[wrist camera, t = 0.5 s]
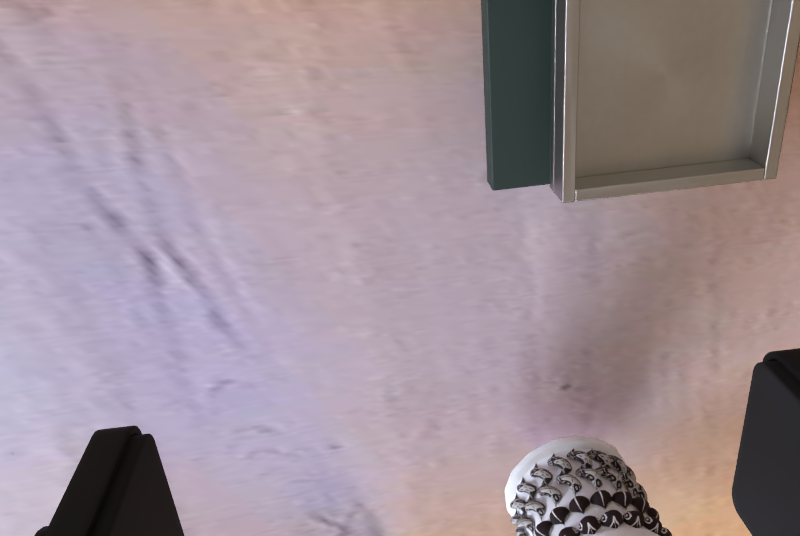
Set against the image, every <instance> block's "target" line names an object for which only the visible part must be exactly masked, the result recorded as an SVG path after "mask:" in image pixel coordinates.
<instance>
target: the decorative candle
mask: <svg viewBox="0 0 800 536" xmlns="http://www.w3.org/2000/svg"><path fill="white" fill-rule="evenodd" d="M504 491H505V498H506V505H507V510H508V512H509V513H510V515H511V516H512V517H511V523H512V524H514V525H516V524H517V526H518V528H517V529H516V530H515V532H516V534H517V535H518V536H672V534H671V532H670V531H669V530H668V529H666V528H664V527H662V524H661V522H660V521H659V514H658V512H657V511H656V510H655V509H654V508H650V506H649V503H648V501H647V494H646V491H645V490H644V488H643V487H642V486H641V485H640V484H638V483H637V482H636V477H635V474H634V472H633V471H632V470H631V469H630V468H629V467H628V466H627V465H626V463H625V462H624V460H623V459H622V457H621V455H620V454H619V452H618V451H617V449H616V448H615V447H614V446H612V445H610V444H608V443H606V442H605V441H603V440H601V439H599V438H595V437H585V436H575V435H574V436H570V437H566V438H561V439H557V440H552V441H549V442H547V443H545V444H544V445H542V446H540V447H538V448H537V449H535V450H533V451H531V452H530V453H528V454H527V455H526V456H525V457H524V458H523V459H522V460H521V461H520V463H519V464H518V465H517V466H516V467H515V468H514V469H513V470H512V471H511V474H510V477H509V480H508V482H507V485H506V488H505V490H504Z"/></svg>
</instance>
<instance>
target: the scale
mask: <svg viewBox="0 0 800 536" xmlns="http://www.w3.org/2000/svg"><path fill="white" fill-rule="evenodd" d="M481 8H482V37H483V66H484V95H485V124H486V153H487V181H488V183H489V184H490V186H491V188H492V190H501V189H510V188H519V187H528V186H536V185H545V184H550V166H551V62H552V0H481Z"/></svg>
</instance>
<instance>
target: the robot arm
mask: <svg viewBox="0 0 800 536" xmlns="http://www.w3.org/2000/svg"><path fill="white" fill-rule="evenodd" d="M732 498H733V503H734V506H735V509H736V511H737V513H738V515H739V516H740V518H741V519H742V521H743V522H744V524H745V525H746V527H747V528H748V530H749V531H750V533H751V534H752V536H800V348H799V349H791V350H782V351H773V352H769V353H767V354H766V355H765V357H764V359H763V362H760V363H757V364H756V366H755V367H754V370H753V375H752V381H751V386H750V392H749V397H748V403H747V409H746V414H745V420H744V426H743V431H742V437H741V442H740V448H739V454H738V459H737V465H736V471H735V476H734V482H733V488H732ZM35 536H184V533H183V530H182V527H181V524H180V520H179V517H178V514H177V511H176V507H175V504H174V501H173V498H172V495H171V491H170V488H169V485H168V482H167V479H166V475H165V472H164V469H163V466H162V463H161V459H160V456H159V453H158V450H157V447H156V443H155V440H154V438H153V436H152V435H151V434H142V433H141V431H140V429H139V428H138V427H137V426H127V427H119V428H110V429H102V430H98V431H96V432H95V433H94V434H93V436H92V437H91V439H90V442H89V444H88V446H87V448H86V450H85V452H84V454H83V456H82V458H81V460H80V462H79V464H78V466H77V469H76V471H75V473H74V475H73V477H72V479H71V481H70V483H69V485H68V487H67V489H66V491H65V493H64V495H63V498H62V500H61V502H60V504H59V506H58V508H57V510H56V512H55V514H54V516H53V518H52V520H51V522H50V525H49V526H45V527H43V528H41V529H40V530H39V531H37V533H36V534H35Z"/></svg>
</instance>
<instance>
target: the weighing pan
mask: <svg viewBox="0 0 800 536" xmlns="http://www.w3.org/2000/svg"><path fill="white" fill-rule="evenodd" d="M799 39H800V0H552V62H551V166H550V187H551V188H552V190H553V191H554V193H555V194H556V195H557V196H558V198H559V199H560V200H561V202H562V203H567V202H574V201H583V200H592V199H601V198H609V197H618V196H627V195H635V194H644V193H653V192H661V191H670V190H679V189H687V188H696V187H705V186H713V185H722V184H731V183H739V182H748V181H757V180H763V179H764V180H765V179H774V178H776V176H777V170H778V164H779V158H780V152H781V146H782V140H783V134H784V128H785V122H786V116H787V110H788V104H789V98H790V92H791V87H792V81H793V75H794V69H795V63H796V57H797V51H798V45H799Z"/></svg>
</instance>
